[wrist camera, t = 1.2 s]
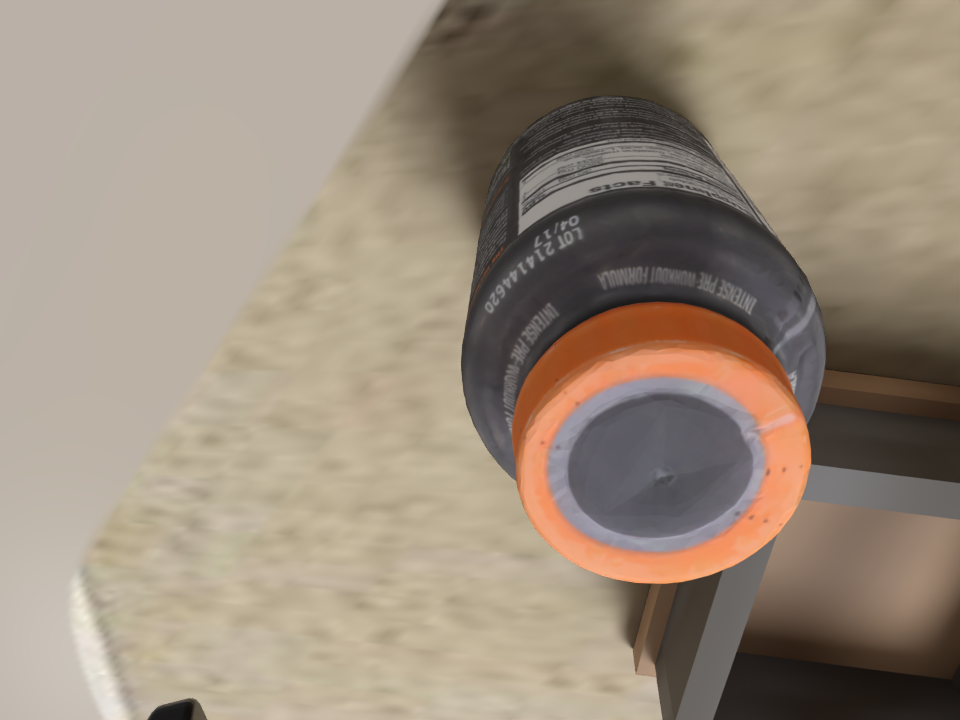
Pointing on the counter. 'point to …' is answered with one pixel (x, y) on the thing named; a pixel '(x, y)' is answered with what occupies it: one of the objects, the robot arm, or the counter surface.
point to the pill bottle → (639, 345)
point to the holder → (833, 579)
